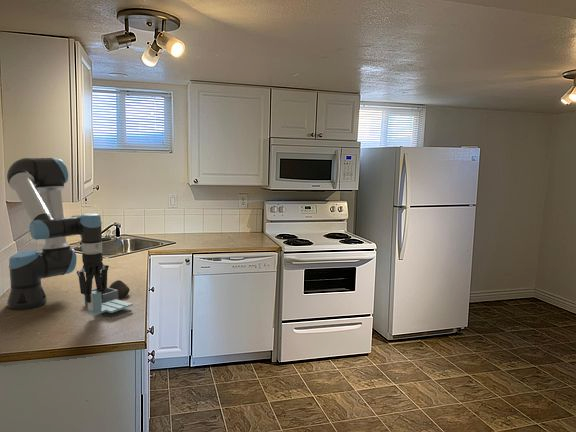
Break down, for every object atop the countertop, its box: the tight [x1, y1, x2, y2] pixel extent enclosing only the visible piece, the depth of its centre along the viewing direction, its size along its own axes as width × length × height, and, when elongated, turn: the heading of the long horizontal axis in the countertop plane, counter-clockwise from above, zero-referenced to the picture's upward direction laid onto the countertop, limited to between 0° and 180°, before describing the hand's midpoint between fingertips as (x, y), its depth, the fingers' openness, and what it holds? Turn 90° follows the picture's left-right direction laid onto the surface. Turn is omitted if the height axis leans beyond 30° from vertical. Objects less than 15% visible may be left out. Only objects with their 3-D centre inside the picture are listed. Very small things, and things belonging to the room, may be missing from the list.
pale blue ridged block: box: [88, 291, 134, 316], centre depth 187 cm, size 11×16×9 cm
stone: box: [108, 279, 130, 300], centre depth 212 cm, size 10×8×10 cm
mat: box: [98, 308, 132, 319], centre depth 191 cm, size 10×10×1 cm
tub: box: [83, 286, 120, 307], centre depth 200 cm, size 10×10×6 cm
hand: (94, 308), depth 182 cm, fingers closed on pale blue ridged block, 3 cm apart
